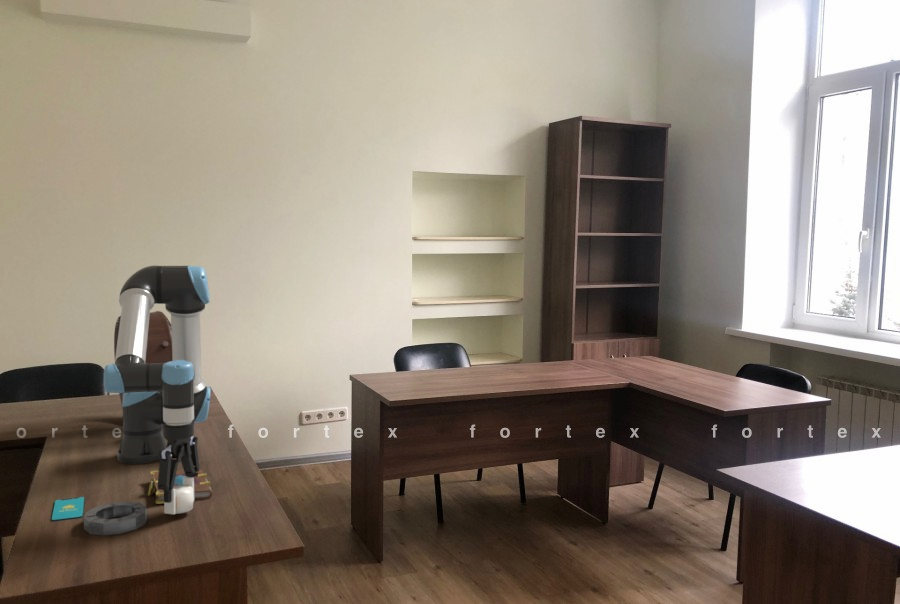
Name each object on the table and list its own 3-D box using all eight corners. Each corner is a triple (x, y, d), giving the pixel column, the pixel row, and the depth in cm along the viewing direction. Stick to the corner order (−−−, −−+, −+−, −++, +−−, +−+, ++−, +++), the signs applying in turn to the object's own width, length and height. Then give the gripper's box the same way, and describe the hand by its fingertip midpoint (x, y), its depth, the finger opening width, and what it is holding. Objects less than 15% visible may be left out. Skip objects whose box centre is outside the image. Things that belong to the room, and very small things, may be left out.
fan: (186, 437, 258) (185, 316, 254) (132, 444, 248) (130, 318, 244) (161, 412, 292) (159, 305, 288) (112, 418, 282) (110, 307, 278)
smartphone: (50, 519, 182) (54, 499, 195) (50, 523, 182) (54, 502, 195) (83, 516, 185) (84, 496, 198) (83, 519, 185) (85, 499, 198)
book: (201, 475, 222) (201, 459, 222) (213, 502, 200) (213, 485, 200) (143, 479, 215) (144, 463, 215) (149, 508, 193) (150, 490, 193)
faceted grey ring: (110, 510, 190) (110, 499, 189) (157, 516, 187) (157, 504, 187) (71, 531, 176) (71, 519, 176) (122, 537, 173) (122, 525, 173)
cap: (177, 501, 192) (176, 483, 192) (199, 504, 191) (199, 486, 191) (159, 512, 185) (158, 493, 184) (182, 515, 184) (182, 496, 183)
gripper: (188, 410, 196) (189, 491, 199) (140, 431, 176) (142, 521, 179) (213, 412, 195) (213, 494, 197) (167, 434, 175) (169, 524, 177)
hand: (179, 506), depth 188 cm, fingers closed on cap, 8 cm apart
